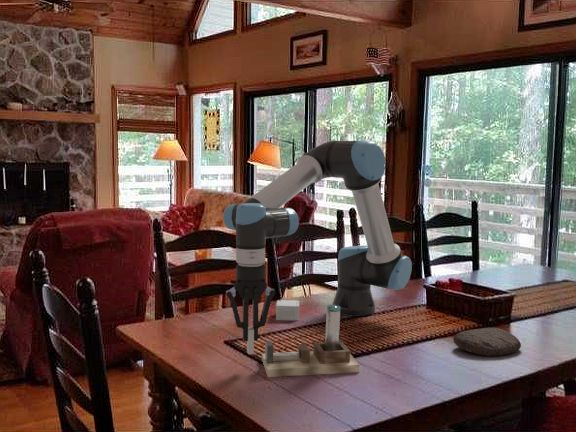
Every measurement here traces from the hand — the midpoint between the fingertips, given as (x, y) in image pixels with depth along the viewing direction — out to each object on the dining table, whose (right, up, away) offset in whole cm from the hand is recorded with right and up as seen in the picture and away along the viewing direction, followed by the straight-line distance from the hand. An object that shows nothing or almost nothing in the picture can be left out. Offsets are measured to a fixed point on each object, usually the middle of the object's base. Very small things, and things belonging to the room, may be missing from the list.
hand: (250, 352), depth 158 cm
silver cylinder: (+21, -2, +4) cm, 22 cm away
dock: (+15, -4, +3) cm, 16 cm away
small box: (+10, +1, +49) cm, 50 cm away
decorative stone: (+68, -4, +18) cm, 70 cm away
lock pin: (+8, -2, +2) cm, 9 cm away
